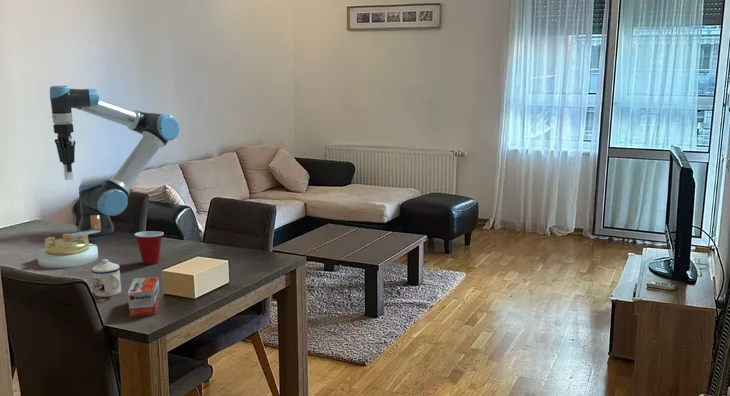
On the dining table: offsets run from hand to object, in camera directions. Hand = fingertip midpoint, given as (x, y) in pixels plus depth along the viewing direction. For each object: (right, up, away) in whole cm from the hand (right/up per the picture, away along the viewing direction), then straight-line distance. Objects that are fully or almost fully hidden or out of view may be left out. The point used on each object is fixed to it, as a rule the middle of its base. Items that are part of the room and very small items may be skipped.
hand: (69, 179), depth 295 cm
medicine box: (+54, -43, -71) cm, 99 cm away
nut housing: (+7, -32, -17) cm, 37 cm away
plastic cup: (+41, -33, -22) cm, 57 cm away
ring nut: (+9, -28, -16) cm, 33 cm away
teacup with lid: (+38, -41, -58) cm, 80 cm away
